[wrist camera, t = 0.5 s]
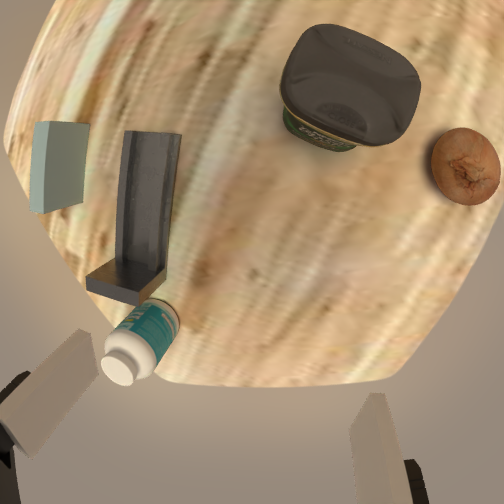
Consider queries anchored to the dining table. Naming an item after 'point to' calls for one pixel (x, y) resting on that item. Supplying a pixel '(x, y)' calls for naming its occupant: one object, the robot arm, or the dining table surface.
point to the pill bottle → (139, 342)
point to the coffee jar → (347, 90)
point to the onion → (465, 166)
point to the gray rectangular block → (57, 165)
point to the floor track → (140, 219)
